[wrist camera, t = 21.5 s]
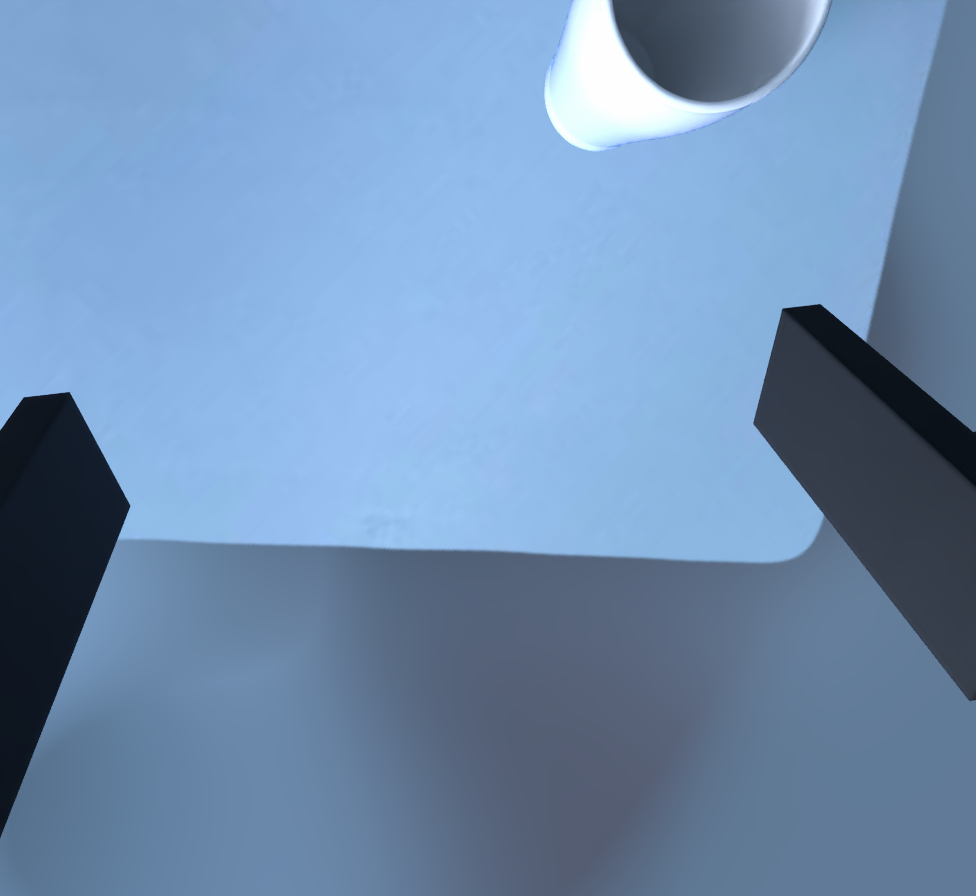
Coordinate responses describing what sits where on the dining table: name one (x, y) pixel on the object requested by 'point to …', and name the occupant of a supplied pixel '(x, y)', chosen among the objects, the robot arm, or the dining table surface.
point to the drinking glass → (671, 64)
